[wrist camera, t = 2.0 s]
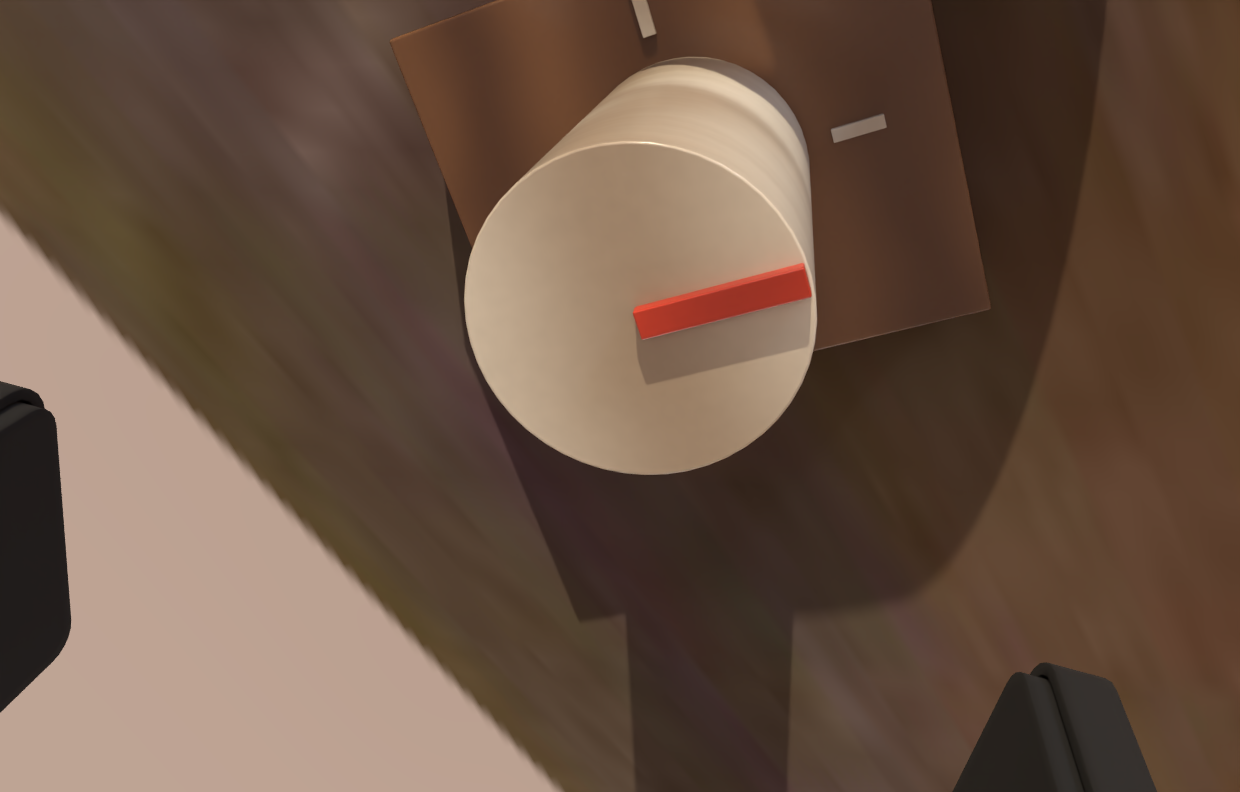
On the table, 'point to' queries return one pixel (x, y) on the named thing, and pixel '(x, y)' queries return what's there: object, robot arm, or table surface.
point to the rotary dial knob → (653, 274)
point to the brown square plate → (791, 64)
